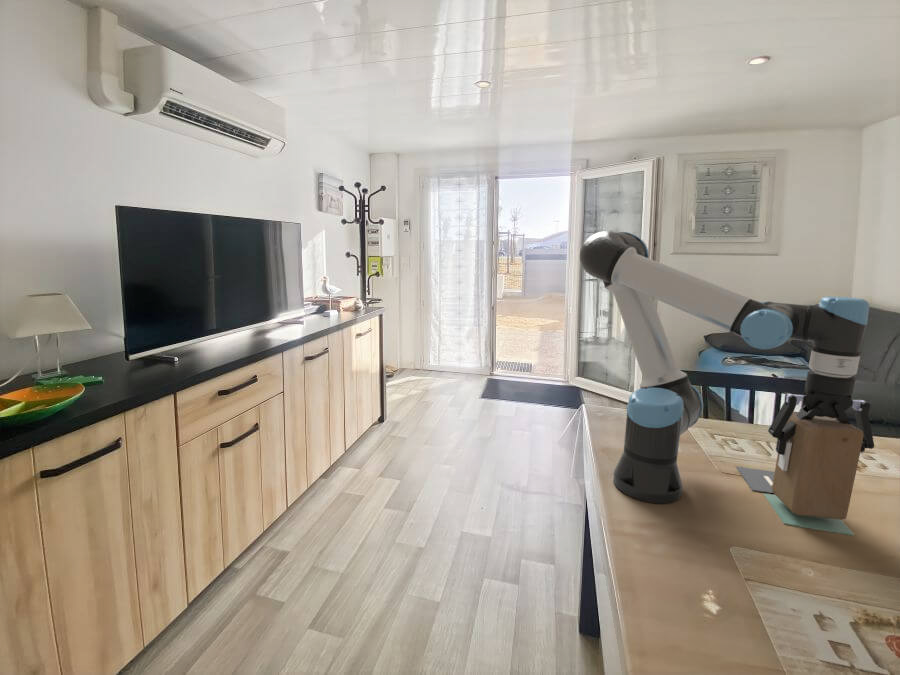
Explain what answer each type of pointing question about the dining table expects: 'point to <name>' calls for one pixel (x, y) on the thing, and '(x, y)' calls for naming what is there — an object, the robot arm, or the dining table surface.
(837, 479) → the wooden block
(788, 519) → the pad
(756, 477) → the mat
